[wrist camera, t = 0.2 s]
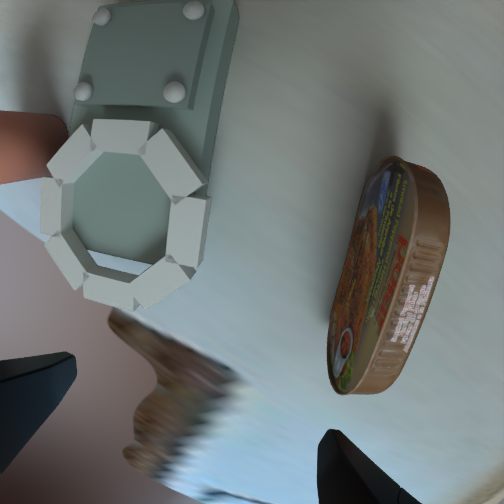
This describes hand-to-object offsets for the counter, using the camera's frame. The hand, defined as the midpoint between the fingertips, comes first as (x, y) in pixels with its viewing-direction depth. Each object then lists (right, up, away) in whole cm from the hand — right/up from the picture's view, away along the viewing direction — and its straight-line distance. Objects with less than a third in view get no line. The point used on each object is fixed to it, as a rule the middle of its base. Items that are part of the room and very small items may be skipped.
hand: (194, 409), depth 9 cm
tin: (+10, +4, +13) cm, 17 cm away
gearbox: (-6, +13, +12) cm, 18 cm away
